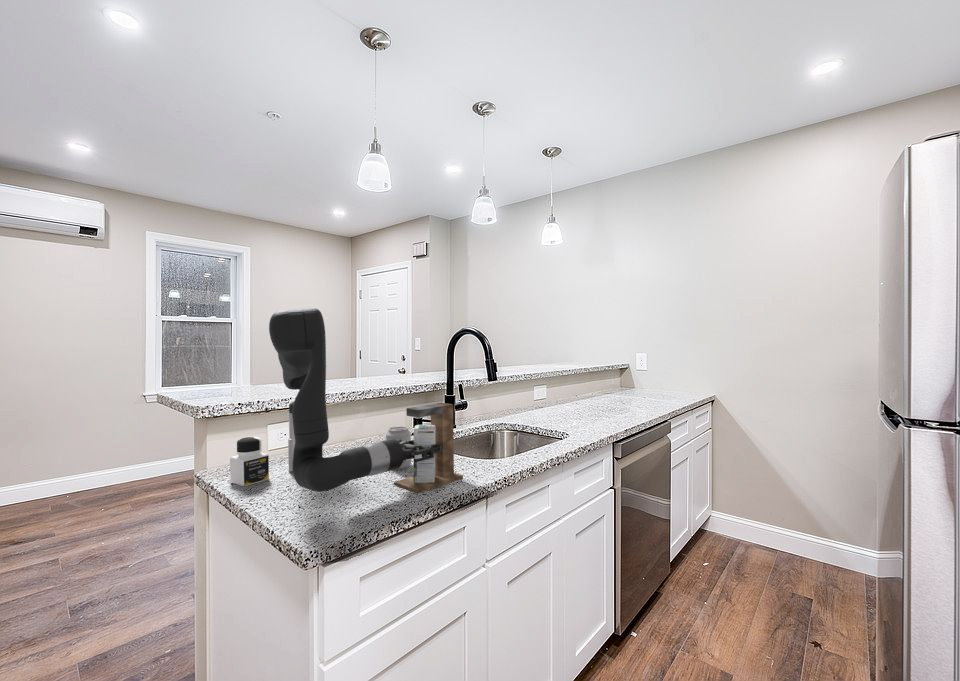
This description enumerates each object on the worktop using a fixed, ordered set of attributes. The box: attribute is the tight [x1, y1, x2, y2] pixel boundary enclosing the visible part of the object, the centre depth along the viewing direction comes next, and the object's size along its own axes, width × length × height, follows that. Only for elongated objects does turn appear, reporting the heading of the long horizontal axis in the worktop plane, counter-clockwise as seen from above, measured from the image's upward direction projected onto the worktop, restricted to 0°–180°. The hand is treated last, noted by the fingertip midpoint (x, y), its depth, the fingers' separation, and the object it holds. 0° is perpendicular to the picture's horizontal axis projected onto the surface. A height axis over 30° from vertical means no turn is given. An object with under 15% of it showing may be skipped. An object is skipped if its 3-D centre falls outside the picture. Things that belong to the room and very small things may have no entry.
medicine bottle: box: [229, 436, 270, 487], centre depth 120 cm, size 7×7×12 cm
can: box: [385, 425, 412, 471], centre depth 132 cm, size 8×8×12 cm
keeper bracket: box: [393, 402, 464, 494], centre depth 118 cm, size 16×10×20 cm, turn 138°
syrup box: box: [412, 424, 435, 483], centre depth 117 cm, size 6×6×14 cm
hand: (429, 444), depth 118 cm, fingers open, 8 cm apart
